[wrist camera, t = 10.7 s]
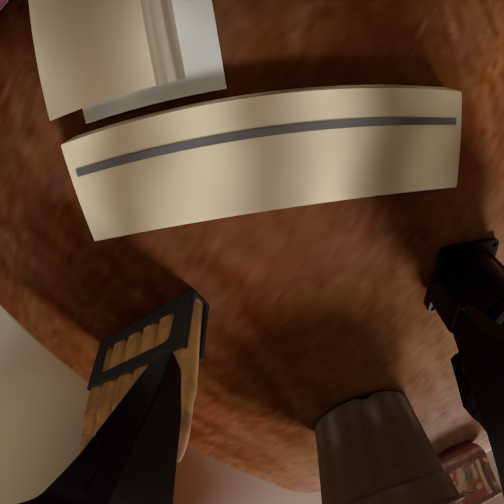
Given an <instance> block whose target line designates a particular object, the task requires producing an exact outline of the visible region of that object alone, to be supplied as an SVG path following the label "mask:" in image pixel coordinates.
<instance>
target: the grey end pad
mask: <svg viewBox="0 0 504 504" xmlns="http://www.w3.org/2000/svg"><path fill="white" fill-rule="evenodd" d="M172 3H173V9H174V15H175V21H176V27H177V32H178V38H179V43H180V49H181V54H182V60H183V65H184V71H185V76H186V78H184V79H180V80H176V81H172V82H168V83H164V84H160V85H157V86H153V87H149V88H145V89H142V90H138V91H135V92H131V93H128V94H124V95H121V96H118V97H115V98H111V99H108V100H105V101H102V102H99V103H96V104H93V105H91V106H88V107H85V108H82V110H83V114H84V118H85V122H86V124H88V123H91V122H94V121H97V120H100V119H103V118H106V117H109V116H113V115H116V114H119V113H123V112H126V111H130V110H133V109H137V108H140V107H144V106H148V105H152V104H156V103H160V102H164V101H168V100H172V99H177V98H181V97H186V96H191V95H195V94H200V93H206V92H211V91H216V90H222V89H227V86H226V81H225V75H224V69H223V63H222V57H221V51H220V45H219V40H218V34H217V28H216V22H215V16H214V10H213V5H212V0H172Z"/></svg>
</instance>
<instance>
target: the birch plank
mask: <svg viewBox="0 0 504 504" xmlns="http://www.w3.org/2000/svg"><path fill="white" fill-rule="evenodd" d="M461 118H462V92H461V91H457V90H453V89H449V88H444V87H435V86H417V85H340V86H321V87H308V88H296V89H286V90H277V91H268V92H260V93H253V94H246V95H239V96H233V97H227V98H221V99H215V100H210V101H205V102H200V103H195V104H190V105H185V106H180V107H176V108H171V109H167V110H163V111H159V112H155V113H151V114H147V115H143V116H139V117H136V118H132V119H128V120H125V121H121V122H118V123H115V124H111V125H108V126H105V127H102V128H98V129H95V130H92V131H89V132H86V133H83V134H80V135H77V136H75V137H73V138H72V139H70V140H68V141H66V142H65V143H63V144H61V148H62V151H63V154H64V158H65V161H66V164H67V167H68V170H69V173H70V176H71V179H72V182H73V185H74V188H75V191H76V194H77V197H78V199H79V202H80V205H81V208H82V210H83V213H84V216H85V218H86V221H87V223H88V226H89V229H90V231H91V234H92V236H93V239H94V241H98V240H103V239H108V238H114V237H119V236H124V235H129V234H134V233H140V232H145V231H150V230H156V229H161V228H167V227H172V226H178V225H183V224H189V223H195V222H201V221H207V220H213V219H219V218H225V217H231V216H237V215H243V214H250V213H256V212H263V211H269V210H276V209H282V208H289V207H296V206H303V205H310V204H317V203H325V202H332V201H340V200H347V199H355V198H363V197H371V196H379V195H388V194H396V193H405V192H414V191H424V190H433V189H443V188H453V187H457V178H458V168H459V157H460V142H461Z"/></svg>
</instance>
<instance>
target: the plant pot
mask: <svg viewBox="0 0 504 504" xmlns="http://www.w3.org/2000/svg"><path fill="white" fill-rule="evenodd" d="M315 436H316V444H317V453H318V463H319V474H320V484H321V497H322V504H456V503H458V502H459V501H461V500H463V499H464V498H465V497H464V495H463V494H462V495H460V494H459V492H458V490H457V489H456V487H455V485H454V483H453V481H452V479H451V477H450V475H449V473H448V472H445V471H444V469H443V467H442V465H441V463H440V461H439V459H438V457H437V455H436V453H435V451H434V449H433V447H432V445H431V443H430V441H429V439H428V437H427V435H426V433H425V431H424V429H423V427H422V426H421V424H420V422H419V420H418V418H417V416H416V414H415V412H414V410H413V409H412V407H411V405H410V403H409V400H408V398H407V397H406V396H405V395H404V394H403V393H401V392H397V391H381V392H375V393H372V394H371V395H370V396H369V397H368V398H366V399H356V398H355V399H352V400H350V401H348V402H345V403H343V404H341V405H339V406H337V407H336V408H334V409H332V410H331V411H329V412H328V413H327V414H325V415H324V416H323V417H322V418H321V419H320V420H319V421H318V423H317V424H316V426H315Z"/></svg>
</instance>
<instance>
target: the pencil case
mask: <svg viewBox="0 0 504 504" xmlns="http://www.w3.org/2000/svg"><path fill="white" fill-rule="evenodd" d="M8 1H9V0H0V10H1V9H2V8H3V7H4V6H5V5H6V3H7V2H8Z"/></svg>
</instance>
